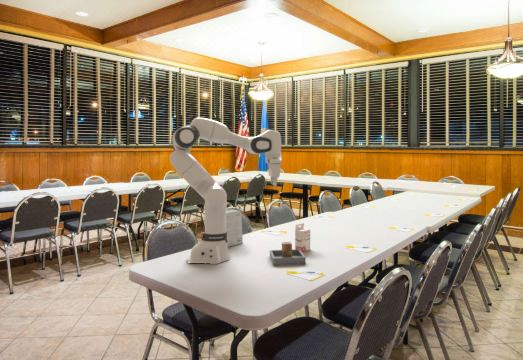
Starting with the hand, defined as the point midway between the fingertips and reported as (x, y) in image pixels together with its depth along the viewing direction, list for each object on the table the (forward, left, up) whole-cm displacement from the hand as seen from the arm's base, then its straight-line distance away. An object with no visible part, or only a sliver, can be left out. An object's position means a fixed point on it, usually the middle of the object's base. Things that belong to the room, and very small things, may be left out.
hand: (273, 185), depth 220 cm
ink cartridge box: (+16, +1, -37) cm, 41 cm away
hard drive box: (-25, +21, -37) cm, 50 cm away
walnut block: (+4, -18, -36) cm, 40 cm away
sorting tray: (+4, -18, -37) cm, 41 cm away
